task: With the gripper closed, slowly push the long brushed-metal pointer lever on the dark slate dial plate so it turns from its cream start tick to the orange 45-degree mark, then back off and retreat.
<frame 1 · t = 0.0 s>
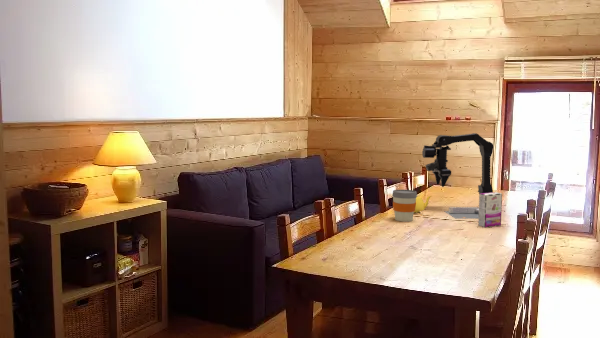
hand: (440, 185, 323), 15 cm above the table, fingers open, 9 cm apart
reusable coffee cup: (403, 220, 301), on the table
candy bar box: (489, 226, 289), on the table
dial lever: (466, 209, 312), point 3 cm above the table, hinge at 0.0°
teapot: (415, 211, 324), on the table
dial plate: (467, 217, 309), on the table
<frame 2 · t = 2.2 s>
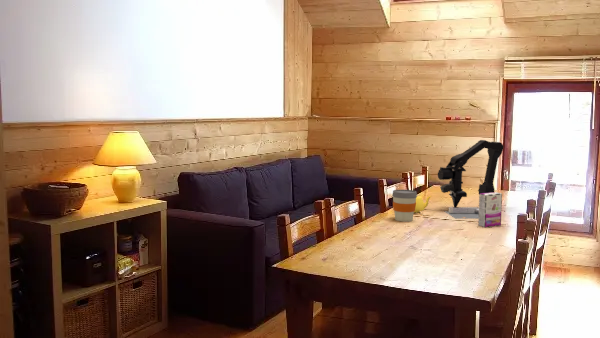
hand: (455, 207, 320), 3 cm above the table, fingers closed
nothing on the table moved.
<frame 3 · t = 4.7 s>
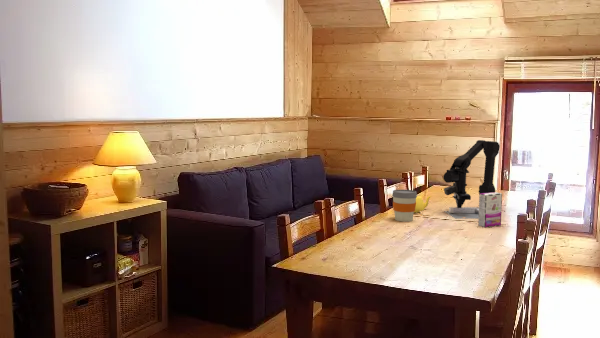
hand: (458, 209, 314), 3 cm above the table, fingers closed
dial lever: (466, 210, 312), point 3 cm above the table, hinge at 2.5°, touching gripper
everything else where it was.
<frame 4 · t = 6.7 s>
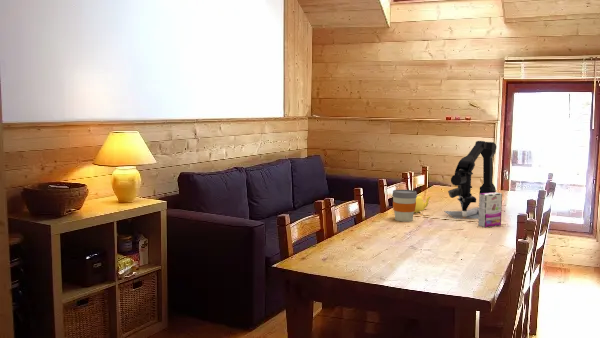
hand: (463, 212, 306), 3 cm above the table, fingers closed
dial lever: (472, 211, 308), point 3 cm above the table, hinge at 43.1°, touching gripper
everything else where it was.
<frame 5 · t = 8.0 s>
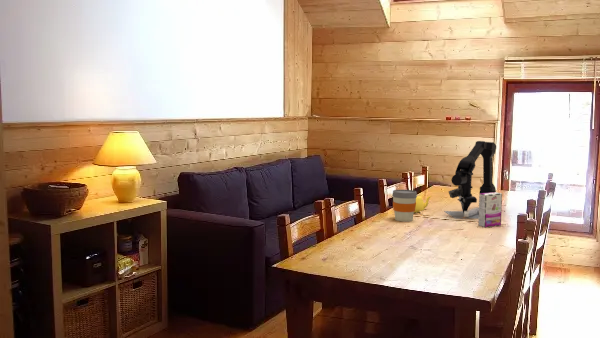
hand: (464, 213, 305), 3 cm above the table, fingers closed
dial lever: (473, 211, 307), point 3 cm above the table, hinge at 47.3°
everything else where it was.
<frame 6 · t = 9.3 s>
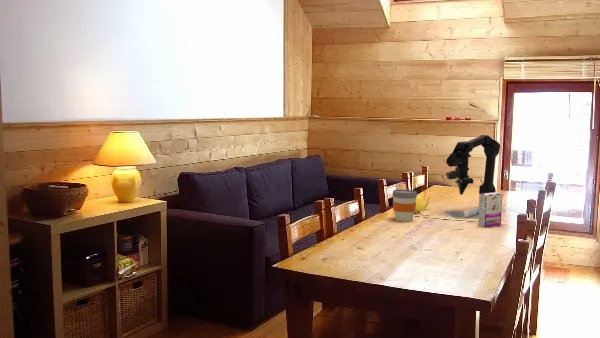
hand: (461, 194, 310), 12 cm above the table, fingers closed
nothing on the table moved.
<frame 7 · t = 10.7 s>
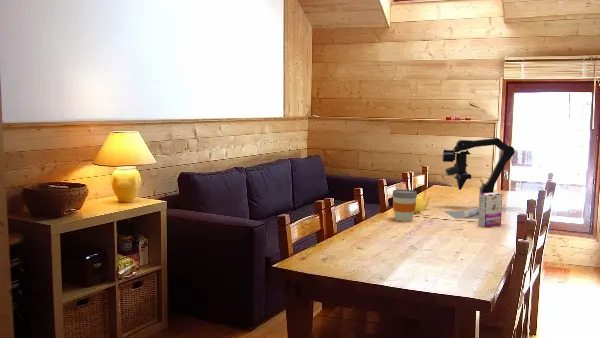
hand: (459, 189, 327), 12 cm above the table, fingers closed
nothing on the table moved.
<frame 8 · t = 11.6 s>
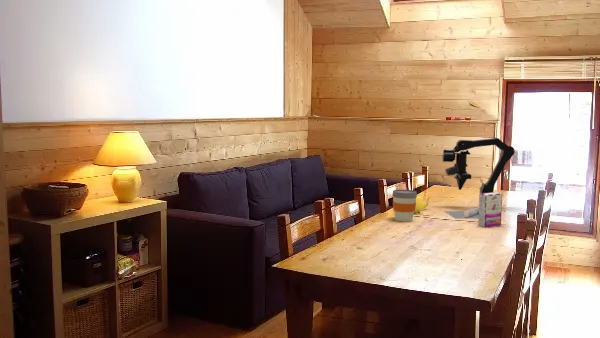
hand: (459, 189, 327), 12 cm above the table, fingers closed
nothing on the table moved.
at the end: dial lever at +47° (first picture: +0°) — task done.
